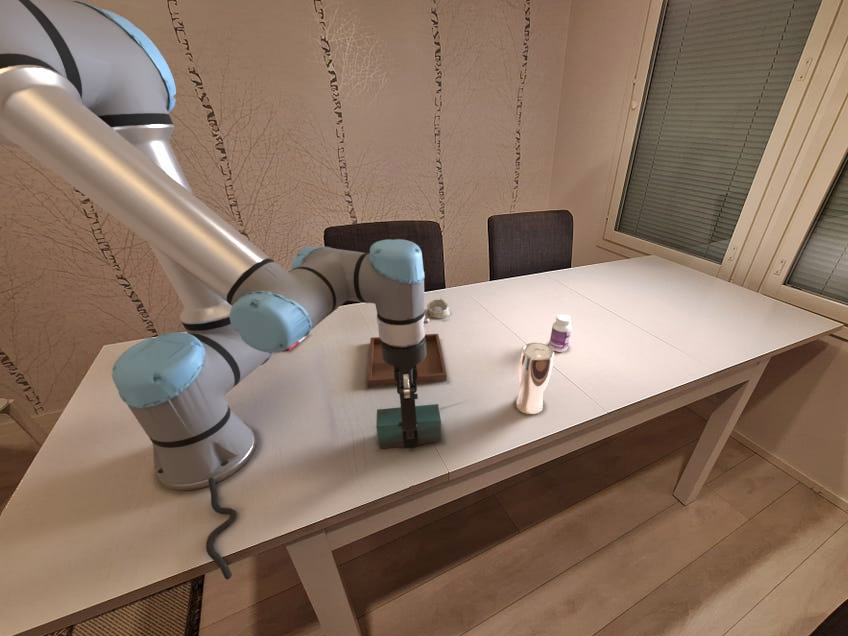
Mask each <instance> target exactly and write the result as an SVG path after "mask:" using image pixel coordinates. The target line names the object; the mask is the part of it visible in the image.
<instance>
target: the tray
mask: <svg viewBox="0 0 848 636" xmlns="http://www.w3.org/2000/svg"><path fill="white" fill-rule="evenodd" d="M425 337H426V357H425V359H424V360H423V361H422V362H421V363H419V364H417V365H416V367H417V379H416V384H421V383H423V384H424V383H433V382H434V383H435V382H445V381H446V382H447V381H448V380H447V377H448V375H447V374H448V373H447V370H446V369H447V368H446V365H445V364H446V363H445V359H444V355H443V349H442V345H441V340H440V336H439V333H429V334H428V333H427V334H426V333H425ZM369 340H370V341H369V351H368V352H369V353H368V366H367V376H366V383H367V387H368V388H374V387H385V386H397V384H396V380H395V378H394V366H391V365H389V364H387V363H386V362H385V361H384V360H383V358H382V352H381V344H380V340H381V339H380V337H379V336H376V337H375V336H374V337H370V339H369ZM399 382H400V381H399Z"/></svg>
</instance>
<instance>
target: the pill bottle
mask: <svg viewBox="0 0 848 636" xmlns="http://www.w3.org/2000/svg"><path fill="white" fill-rule="evenodd" d="M571 322H572V317H571V316H570V315H567V314H557V316H556V318H555V322H553V324H552V326H551V332H550V337H549V343H548V346H549V347H551V348H552V349H553V351H554V352H557V353H558V352H559V353H562V352H566V351H567V350H568V348H569V344H570V339H571V335H572V334H571V333H572V329H573V327H572V324H571Z"/></svg>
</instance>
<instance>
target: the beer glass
mask: <svg viewBox="0 0 848 636" xmlns="http://www.w3.org/2000/svg"><path fill="white" fill-rule="evenodd" d="M520 354H521V355H520V358H519V363H518V382H519V393H518V397H517V399H516V402H515V405H516V408H517V410H519V411H520V412H522V413H523V414H527V415H536V414H539V413H541V411H542V410H543V409H544V401H543V399H544V393H545V391H546V388H547V386H548V384H549V381H550V379H551V375H552V371H553V365H554V356H555V351H554V350H553V349H552V348H551V347H549V345H548V344H544V343H541V342H529V343H527V344H525V345H523V347H522V349H521V353H520Z"/></svg>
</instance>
